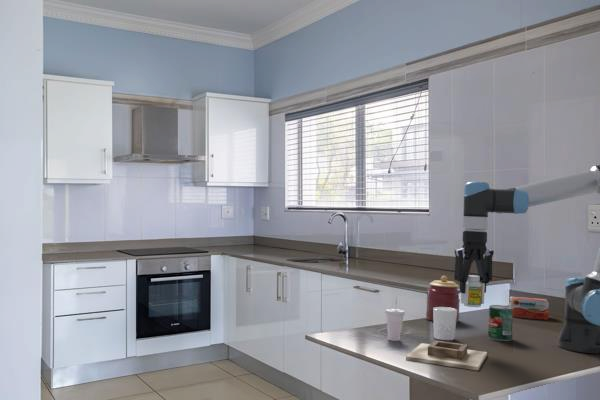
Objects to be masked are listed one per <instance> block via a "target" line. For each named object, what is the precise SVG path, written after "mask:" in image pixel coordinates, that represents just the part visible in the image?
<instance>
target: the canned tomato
mask: <svg viewBox="0 0 600 400" xmlns="http://www.w3.org/2000/svg"><path fill="white" fill-rule="evenodd" d="M488 309H489V310H488V331H487V338H488V339H490V340H493V341H499V342H500V341H501V342H510V341H512V340H513V338H512V337H513V336H512V335H513V320H514V319H513V318H514V317H513V307H509V306H508V305H501V304H492V305H489V307H488Z"/></svg>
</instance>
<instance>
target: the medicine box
mask: <svg viewBox="0 0 600 400" xmlns="http://www.w3.org/2000/svg"><path fill="white" fill-rule="evenodd" d="M508 305H509V307H513V318H522V319H533V320H542V319H544V321H545V320H546V321H549V318H550V317H549V315H550V302H549V301H548V300H547V299H545V298H535V297H524V296H510V297H509V303H508Z"/></svg>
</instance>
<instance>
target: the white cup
mask: <svg viewBox="0 0 600 400" xmlns="http://www.w3.org/2000/svg"><path fill="white" fill-rule="evenodd" d="M456 317H457V309H454V308H448V307H434V308H433V321H432V322H433V324H432V325H433V338H434V339H436V340H438V341H453V340H455V333H456V329H457V328H456V325H457V322H456Z"/></svg>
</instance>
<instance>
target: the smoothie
mask: <svg viewBox="0 0 600 400" xmlns="http://www.w3.org/2000/svg"><path fill="white" fill-rule="evenodd" d="M397 303H398V297H397V296H395V299H394V308H386V309H385V312H384V313H385V316H386V317H385V318H386V329H387V332H386V333H387V340H388V341H390V340H391V341H390V342H399V341H400V338H401V333H402V327H403V321H404V315H405V314H406V313H405V310H403V309H399V308H397V305H398V304H397Z"/></svg>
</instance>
